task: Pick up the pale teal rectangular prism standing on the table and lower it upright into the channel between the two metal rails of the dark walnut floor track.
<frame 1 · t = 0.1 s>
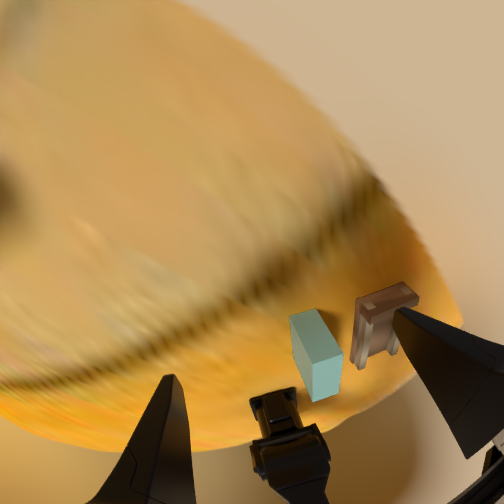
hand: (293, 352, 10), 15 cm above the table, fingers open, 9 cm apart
pale teal rectangular prism: (303, 334, 30), on the table
floor track: (376, 323, 32), on the table
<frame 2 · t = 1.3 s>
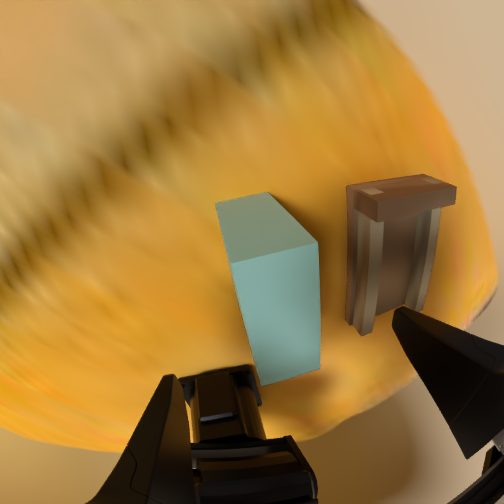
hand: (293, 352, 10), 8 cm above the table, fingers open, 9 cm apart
pale teal rectangular prism: (251, 252, 17), on the table
floor track: (386, 250, 19), on the table
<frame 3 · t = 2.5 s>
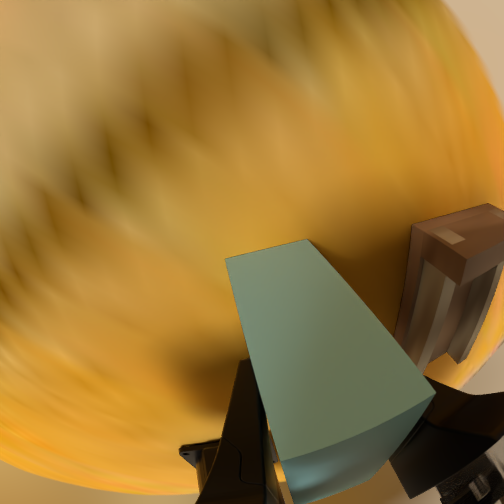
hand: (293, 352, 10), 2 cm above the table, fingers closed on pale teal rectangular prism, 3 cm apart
pale teal rectangular prism: (278, 322, 11), on the table, touching gripper
floor track: (440, 298, 13), on the table
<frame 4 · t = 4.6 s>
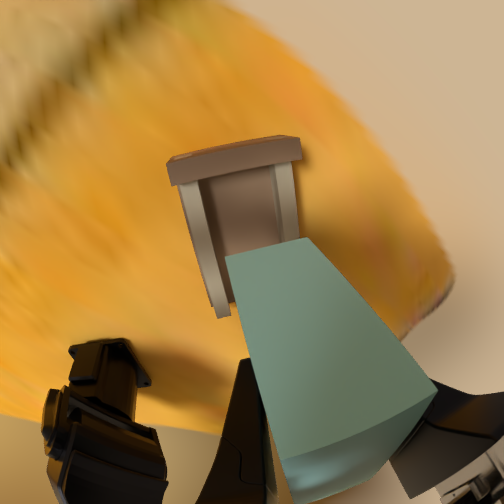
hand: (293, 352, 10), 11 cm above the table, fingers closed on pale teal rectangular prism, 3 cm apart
pale teal rectangular prism: (278, 321, 11), point 9 cm above the table, touching gripper
floor track: (242, 224, 19), on the table
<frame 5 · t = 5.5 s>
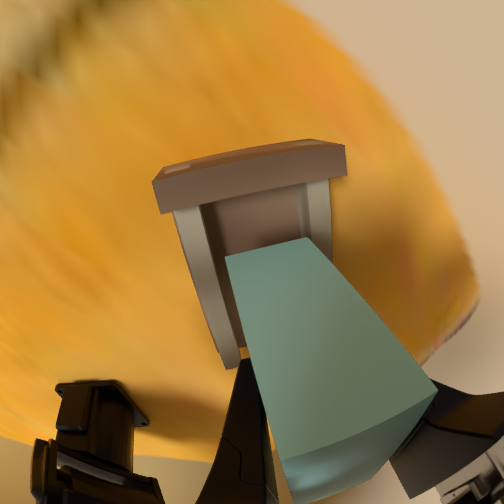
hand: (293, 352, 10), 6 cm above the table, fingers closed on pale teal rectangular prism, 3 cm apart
pale teal rectangular prism: (278, 321, 11), point 4 cm above the table, touching gripper
floor track: (257, 255, 14), on the table
when the fingers open (3 cm above the table, at t = 6.4 s): pale teal rectangular prism stays where it is, resting on floor track.
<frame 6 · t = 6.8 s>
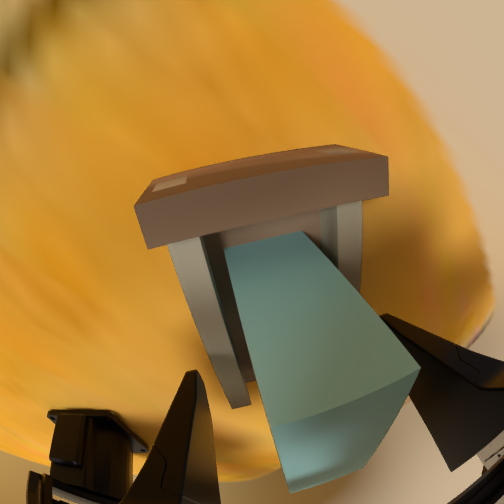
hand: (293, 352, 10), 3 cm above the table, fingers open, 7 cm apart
pale teal rectangular prism: (274, 311, 12), point 1 cm above the table, touching floor track
floor track: (269, 283, 12), on the table
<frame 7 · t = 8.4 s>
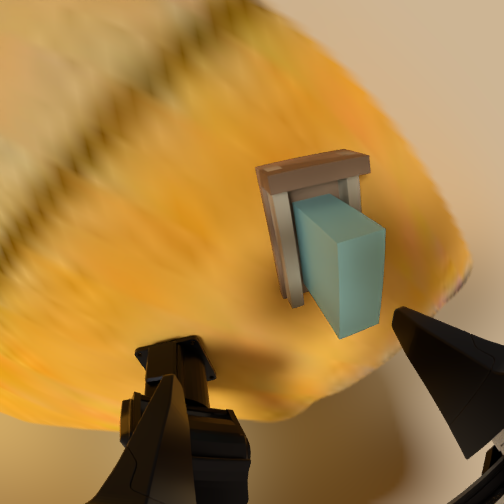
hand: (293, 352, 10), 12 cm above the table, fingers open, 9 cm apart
pale teal rectangular prism: (316, 240, 21), point 1 cm above the table, touching floor track
floor track: (312, 225, 21), on the table
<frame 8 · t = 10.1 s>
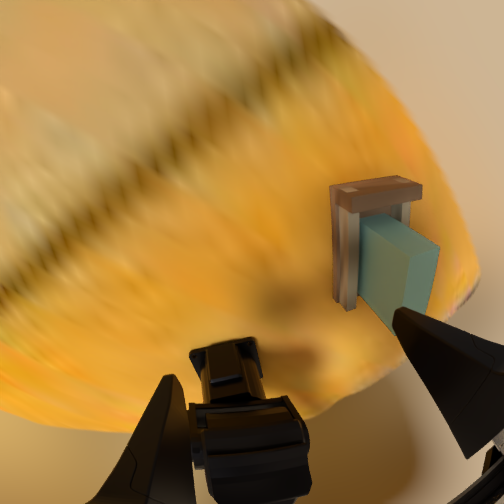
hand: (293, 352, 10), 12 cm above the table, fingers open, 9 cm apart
pale teal rectangular prism: (369, 252, 23), point 1 cm above the table, touching floor track
floor track: (366, 239, 23), on the table
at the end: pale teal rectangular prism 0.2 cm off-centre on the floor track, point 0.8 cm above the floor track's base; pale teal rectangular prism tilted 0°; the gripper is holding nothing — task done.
